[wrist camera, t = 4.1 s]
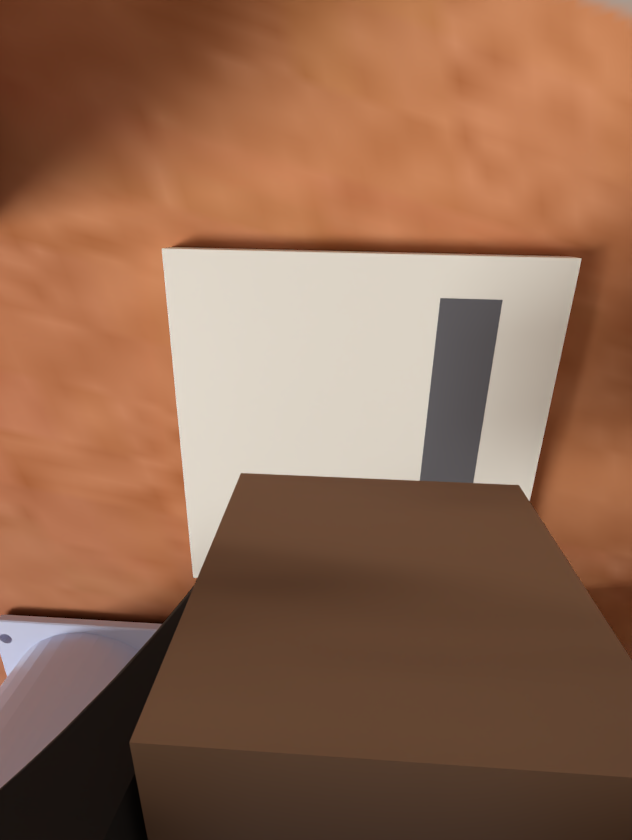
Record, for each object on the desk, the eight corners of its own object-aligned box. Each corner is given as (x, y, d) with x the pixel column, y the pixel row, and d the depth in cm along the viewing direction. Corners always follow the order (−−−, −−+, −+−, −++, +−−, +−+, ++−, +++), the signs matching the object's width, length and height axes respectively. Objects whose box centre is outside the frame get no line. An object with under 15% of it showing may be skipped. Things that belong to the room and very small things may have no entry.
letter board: (503, 580, 19) (509, 595, 18) (198, 564, 20) (192, 577, 19) (569, 256, 15) (582, 258, 14) (170, 246, 15) (161, 248, 14)
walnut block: (478, 686, 11) (579, 1043, 6) (250, 671, 11) (179, 1005, 6) (518, 485, 9) (711, 783, 4) (241, 472, 9) (128, 741, 4)
